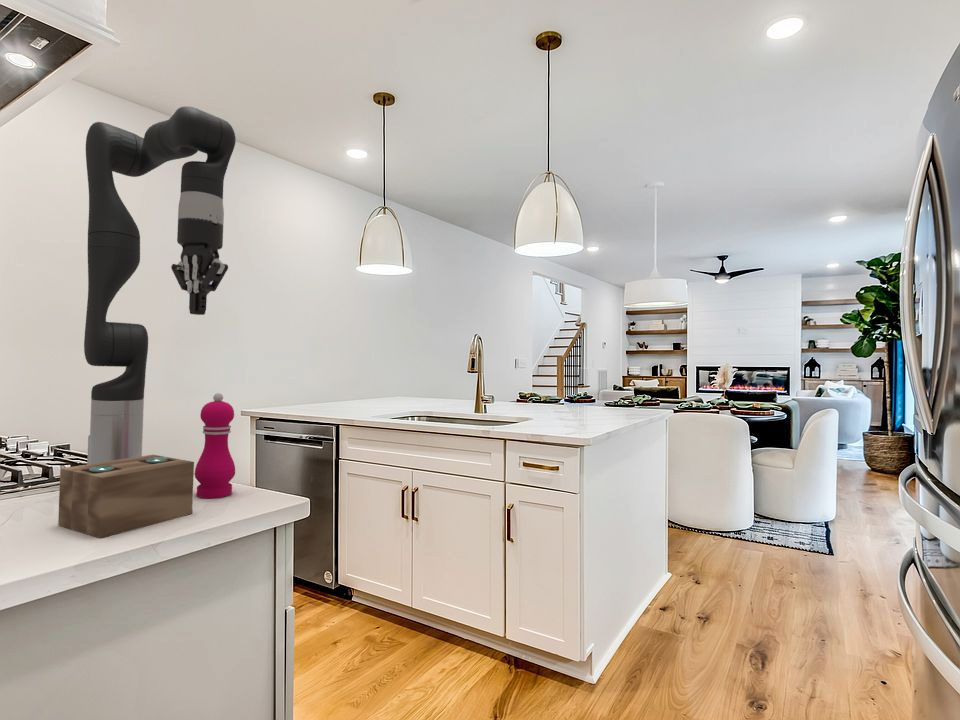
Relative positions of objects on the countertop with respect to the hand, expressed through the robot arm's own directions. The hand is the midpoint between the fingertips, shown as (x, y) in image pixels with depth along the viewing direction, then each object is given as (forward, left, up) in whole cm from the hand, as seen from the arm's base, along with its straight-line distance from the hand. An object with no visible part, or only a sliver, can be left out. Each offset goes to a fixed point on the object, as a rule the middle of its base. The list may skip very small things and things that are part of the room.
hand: (197, 314), depth 101 cm
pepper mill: (-1, +6, -35) cm, 36 cm away
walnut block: (+1, -12, -35) cm, 37 cm away
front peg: (+1, -16, -34) cm, 38 cm away
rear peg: (+1, -8, -35) cm, 36 cm away
